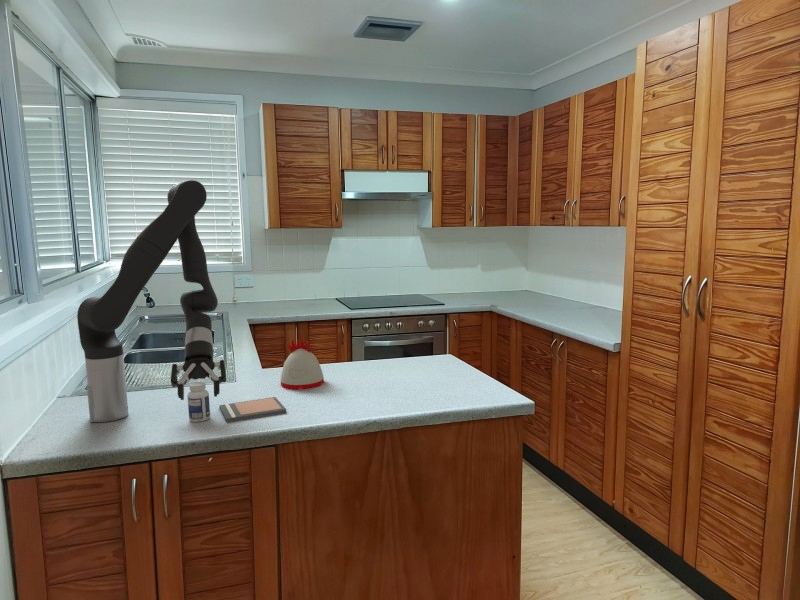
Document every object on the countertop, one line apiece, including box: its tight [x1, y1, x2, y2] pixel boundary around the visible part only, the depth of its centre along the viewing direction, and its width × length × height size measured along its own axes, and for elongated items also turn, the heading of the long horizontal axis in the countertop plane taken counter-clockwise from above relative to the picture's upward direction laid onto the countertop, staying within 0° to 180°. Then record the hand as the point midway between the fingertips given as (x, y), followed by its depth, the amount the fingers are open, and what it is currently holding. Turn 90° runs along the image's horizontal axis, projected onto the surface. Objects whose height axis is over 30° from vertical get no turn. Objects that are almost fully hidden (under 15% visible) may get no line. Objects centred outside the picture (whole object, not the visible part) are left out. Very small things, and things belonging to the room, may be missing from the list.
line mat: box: [218, 396, 287, 423], centre depth 156 cm, size 16×13×1 cm
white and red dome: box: [280, 338, 325, 391], centre depth 182 cm, size 14×14×15 cm
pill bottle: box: [187, 381, 211, 423], centre depth 150 cm, size 5×5×10 cm
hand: (198, 396), depth 150 cm, fingers open, 8 cm apart
